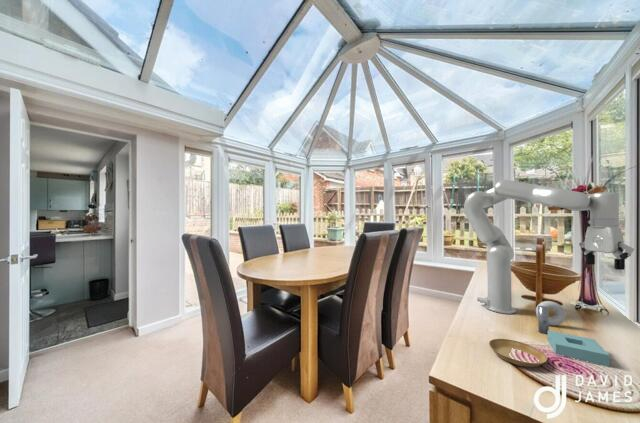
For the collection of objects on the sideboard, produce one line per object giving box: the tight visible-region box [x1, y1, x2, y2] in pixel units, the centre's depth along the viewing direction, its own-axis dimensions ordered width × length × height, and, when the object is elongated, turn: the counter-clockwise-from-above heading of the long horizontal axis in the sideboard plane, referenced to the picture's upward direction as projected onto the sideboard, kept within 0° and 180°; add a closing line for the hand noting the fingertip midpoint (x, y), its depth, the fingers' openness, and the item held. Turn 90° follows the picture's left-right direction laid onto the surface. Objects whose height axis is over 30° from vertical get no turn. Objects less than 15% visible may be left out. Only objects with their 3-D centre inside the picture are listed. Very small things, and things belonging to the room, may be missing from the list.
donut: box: [535, 300, 567, 326], centre depth 104 cm, size 10×4×10 cm, turn 71°
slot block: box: [547, 329, 611, 368], centre depth 83 cm, size 12×12×4 cm
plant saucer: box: [488, 338, 548, 368], centre depth 80 cm, size 15×15×3 cm
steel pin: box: [537, 305, 550, 335], centre depth 97 cm, size 3×3×10 cm
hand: (604, 266), depth 98 cm, fingers open, 9 cm apart
